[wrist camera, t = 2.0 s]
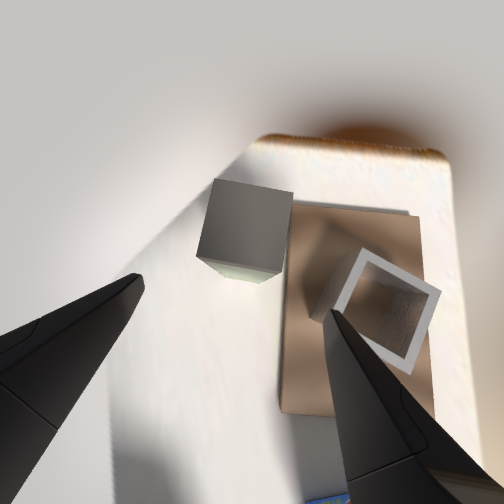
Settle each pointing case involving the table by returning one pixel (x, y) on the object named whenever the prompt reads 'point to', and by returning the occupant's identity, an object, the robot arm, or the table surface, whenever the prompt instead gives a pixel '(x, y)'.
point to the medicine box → (333, 500)
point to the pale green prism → (245, 231)
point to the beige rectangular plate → (358, 307)
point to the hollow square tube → (399, 310)
